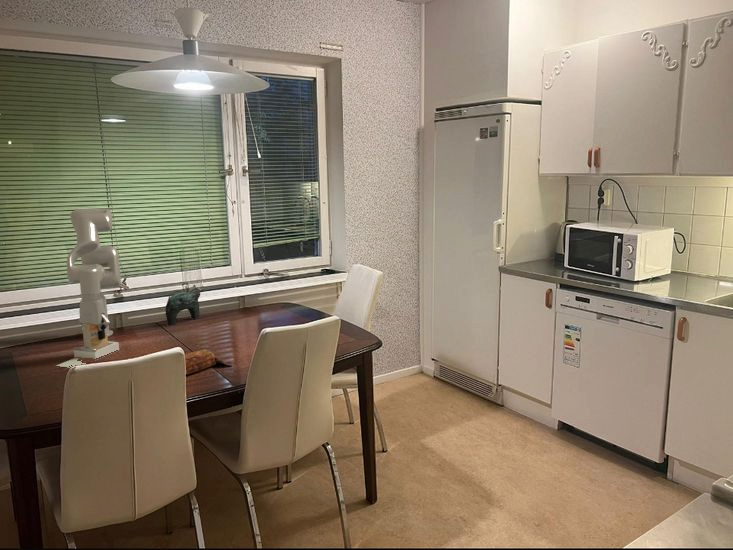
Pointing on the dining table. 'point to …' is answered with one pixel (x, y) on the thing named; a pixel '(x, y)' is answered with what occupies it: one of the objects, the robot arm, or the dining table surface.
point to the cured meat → (201, 361)
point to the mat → (71, 363)
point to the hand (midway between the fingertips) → (95, 338)
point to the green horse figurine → (183, 304)
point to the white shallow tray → (96, 351)
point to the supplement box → (93, 337)
